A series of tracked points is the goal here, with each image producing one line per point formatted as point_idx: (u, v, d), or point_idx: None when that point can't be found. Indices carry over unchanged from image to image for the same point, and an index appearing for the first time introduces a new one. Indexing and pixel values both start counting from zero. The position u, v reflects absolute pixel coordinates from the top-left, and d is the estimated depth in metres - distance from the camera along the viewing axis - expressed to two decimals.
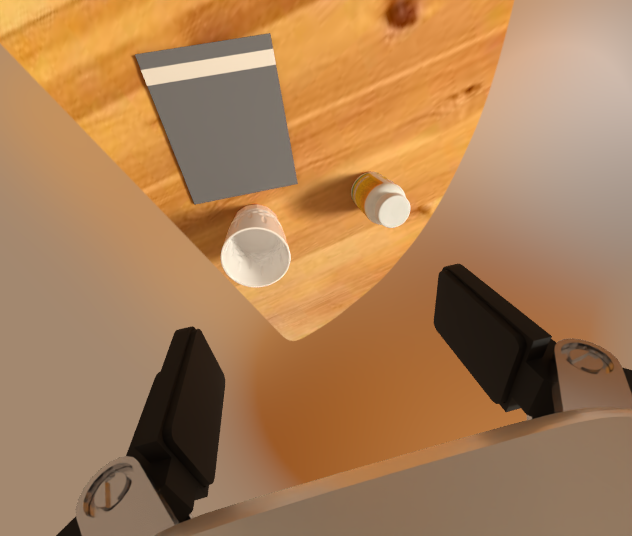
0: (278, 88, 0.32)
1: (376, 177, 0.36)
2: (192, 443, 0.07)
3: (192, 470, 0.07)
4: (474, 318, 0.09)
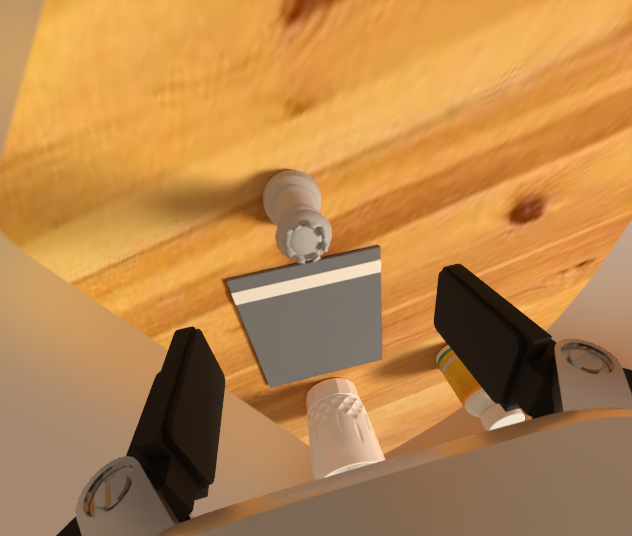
0: (379, 289, 0.28)
1: None
2: (192, 443, 0.07)
3: (192, 470, 0.07)
4: (474, 318, 0.09)
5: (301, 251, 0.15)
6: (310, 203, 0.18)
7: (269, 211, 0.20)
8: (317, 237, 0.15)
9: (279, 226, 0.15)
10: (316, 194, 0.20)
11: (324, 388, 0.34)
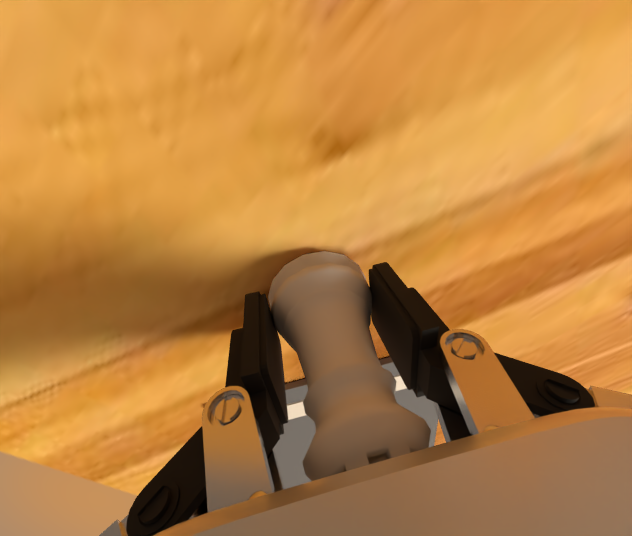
0: None
1: None
2: (276, 383, 0.09)
3: (277, 406, 0.08)
4: (389, 312, 0.10)
5: None
6: (365, 336, 0.09)
7: (281, 328, 0.11)
8: None
9: (314, 450, 0.06)
10: (366, 297, 0.11)
11: None
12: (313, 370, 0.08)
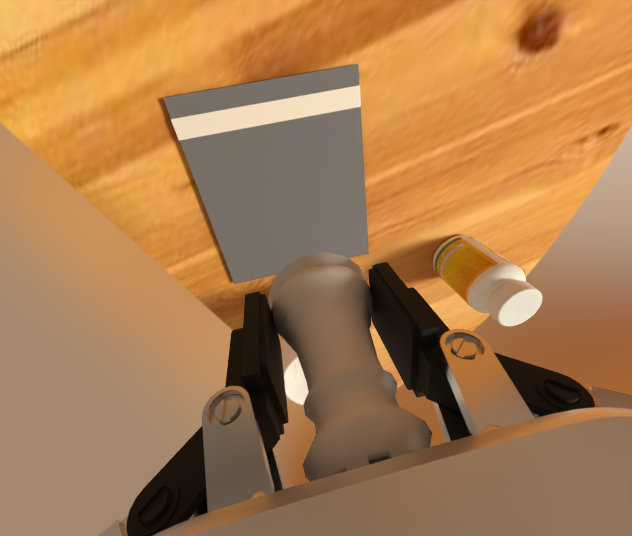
0: (359, 137, 0.23)
1: (478, 248, 0.27)
2: (276, 383, 0.09)
3: (277, 406, 0.08)
4: (389, 312, 0.10)
5: None
6: (366, 338, 0.09)
7: (281, 329, 0.11)
8: None
9: (314, 453, 0.06)
10: (366, 298, 0.11)
11: None
12: (313, 372, 0.08)
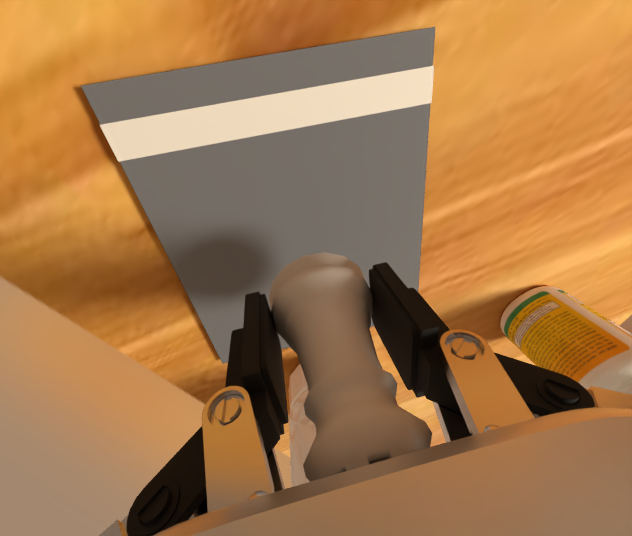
0: (423, 154, 0.14)
1: (583, 314, 0.18)
2: (276, 383, 0.09)
3: (277, 406, 0.08)
4: (389, 312, 0.10)
5: None
6: (366, 338, 0.09)
7: (281, 329, 0.11)
8: None
9: (314, 453, 0.06)
10: (366, 298, 0.11)
11: None
12: (313, 372, 0.08)
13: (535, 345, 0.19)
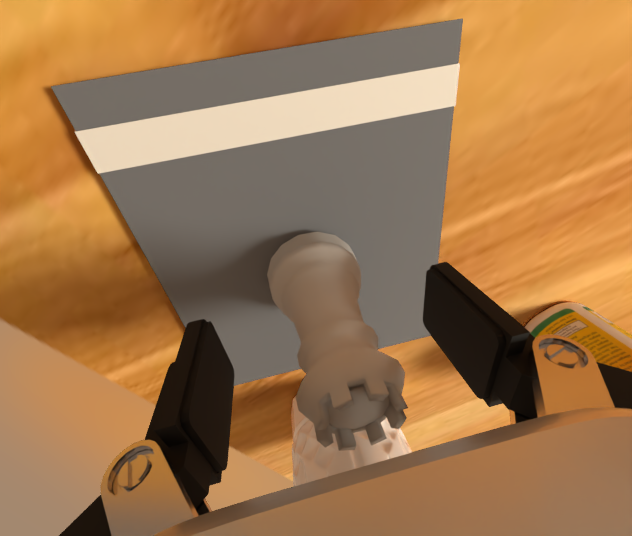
0: (444, 163, 0.12)
1: (614, 336, 0.17)
2: (207, 429, 0.08)
3: (207, 455, 0.08)
4: (458, 315, 0.09)
5: (348, 427, 0.08)
6: (352, 302, 0.10)
7: (279, 301, 0.12)
8: (381, 403, 0.07)
9: (304, 384, 0.07)
10: (355, 272, 0.12)
11: None
12: (306, 329, 0.09)
13: None
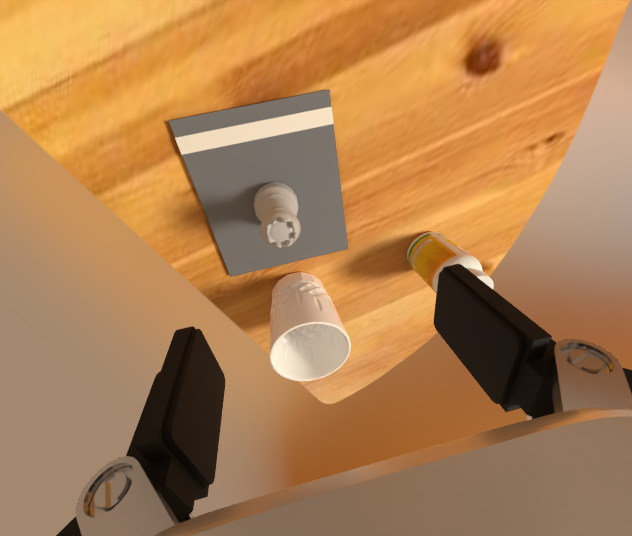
0: (334, 149, 0.27)
1: (443, 243, 0.31)
2: (192, 443, 0.07)
3: (192, 470, 0.07)
4: (474, 318, 0.09)
5: (278, 239, 0.22)
6: (286, 206, 0.24)
7: (258, 213, 0.27)
8: (289, 229, 0.22)
9: (262, 222, 0.22)
10: (293, 200, 0.26)
11: (288, 279, 0.32)
12: None
13: (419, 264, 0.32)
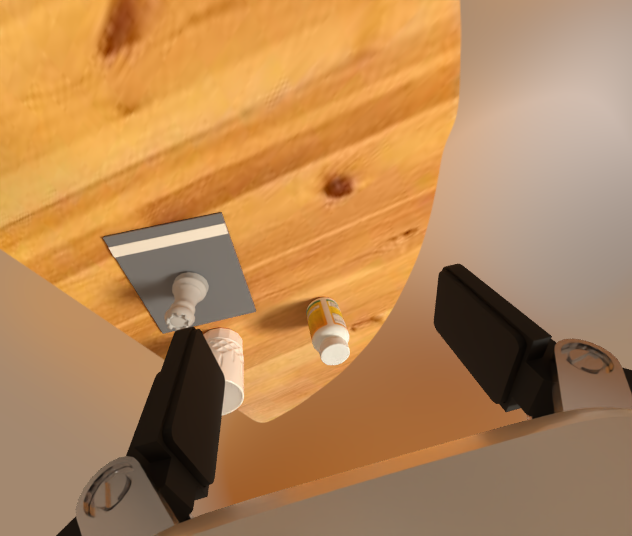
0: (232, 248, 0.36)
1: (324, 311, 0.40)
2: (192, 443, 0.07)
3: (192, 470, 0.07)
4: (474, 318, 0.09)
5: (177, 326, 0.32)
6: (190, 296, 0.34)
7: (175, 296, 0.36)
8: (184, 319, 0.31)
9: (165, 315, 0.31)
10: (200, 286, 0.36)
11: (208, 335, 0.42)
12: None
13: None
